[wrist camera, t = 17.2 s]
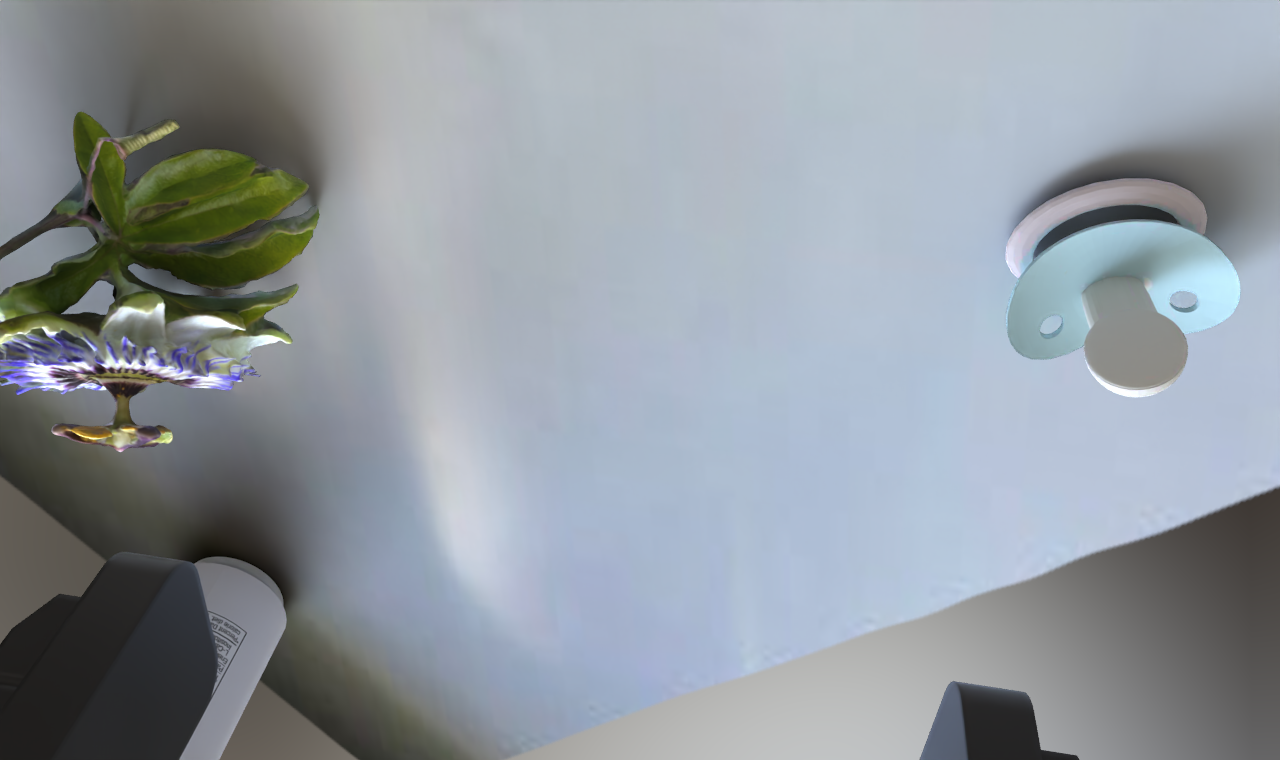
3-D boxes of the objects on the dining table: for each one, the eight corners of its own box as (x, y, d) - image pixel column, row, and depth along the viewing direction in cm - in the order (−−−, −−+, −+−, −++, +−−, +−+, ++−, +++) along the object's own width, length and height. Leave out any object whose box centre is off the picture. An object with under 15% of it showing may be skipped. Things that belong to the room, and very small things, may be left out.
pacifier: (982, 199, 38) (1007, 342, 41) (1003, 290, 33) (1031, 446, 36) (1214, 147, 36) (1223, 302, 39) (1274, 236, 31) (1280, 407, 34)
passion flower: (265, 245, 50) (54, 443, 45) (98, 36, 43) (-173, 247, 38) (415, 295, 43) (182, 537, 38) (244, 53, 35) (-70, 316, 31)
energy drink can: (179, 615, 58) (11, 892, 46) (174, 535, 54) (-11, 814, 42) (293, 643, 58) (154, 926, 46) (295, 565, 54) (144, 851, 42)
